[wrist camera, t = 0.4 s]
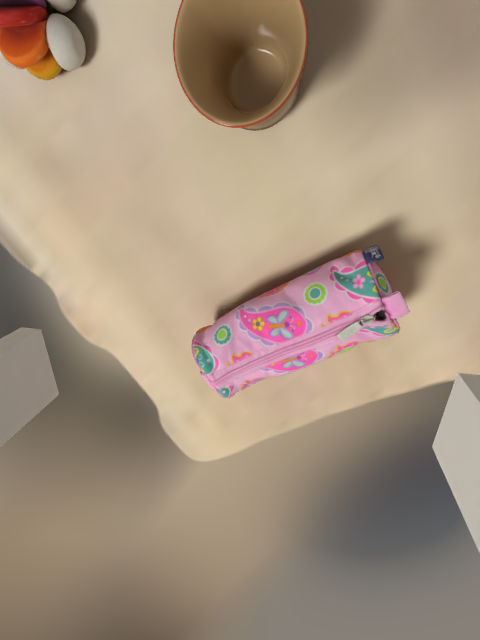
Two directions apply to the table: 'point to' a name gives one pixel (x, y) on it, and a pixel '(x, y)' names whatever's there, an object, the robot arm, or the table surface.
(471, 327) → the table surface
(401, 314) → the pencil case
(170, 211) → the table surface
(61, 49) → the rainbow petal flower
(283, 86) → the mug
